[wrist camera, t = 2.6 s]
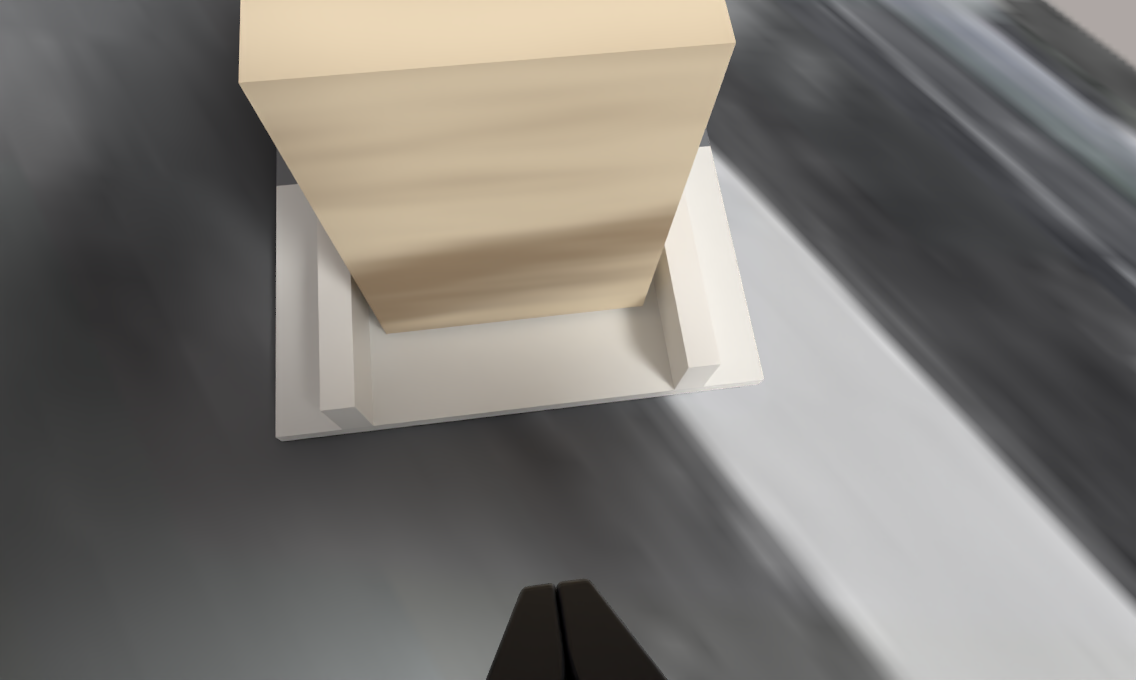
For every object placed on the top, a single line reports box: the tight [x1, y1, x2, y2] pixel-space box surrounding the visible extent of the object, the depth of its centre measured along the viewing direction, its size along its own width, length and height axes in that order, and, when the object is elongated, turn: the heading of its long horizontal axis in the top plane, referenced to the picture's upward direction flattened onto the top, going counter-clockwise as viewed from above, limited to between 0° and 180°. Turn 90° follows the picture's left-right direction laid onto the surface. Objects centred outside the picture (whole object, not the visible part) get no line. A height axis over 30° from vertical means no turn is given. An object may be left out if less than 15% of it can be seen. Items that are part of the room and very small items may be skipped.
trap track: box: [276, 128, 764, 441], centre depth 21 cm, size 18×13×2 cm
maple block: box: [239, 0, 736, 334], centre depth 16 cm, size 5×7×10 cm
